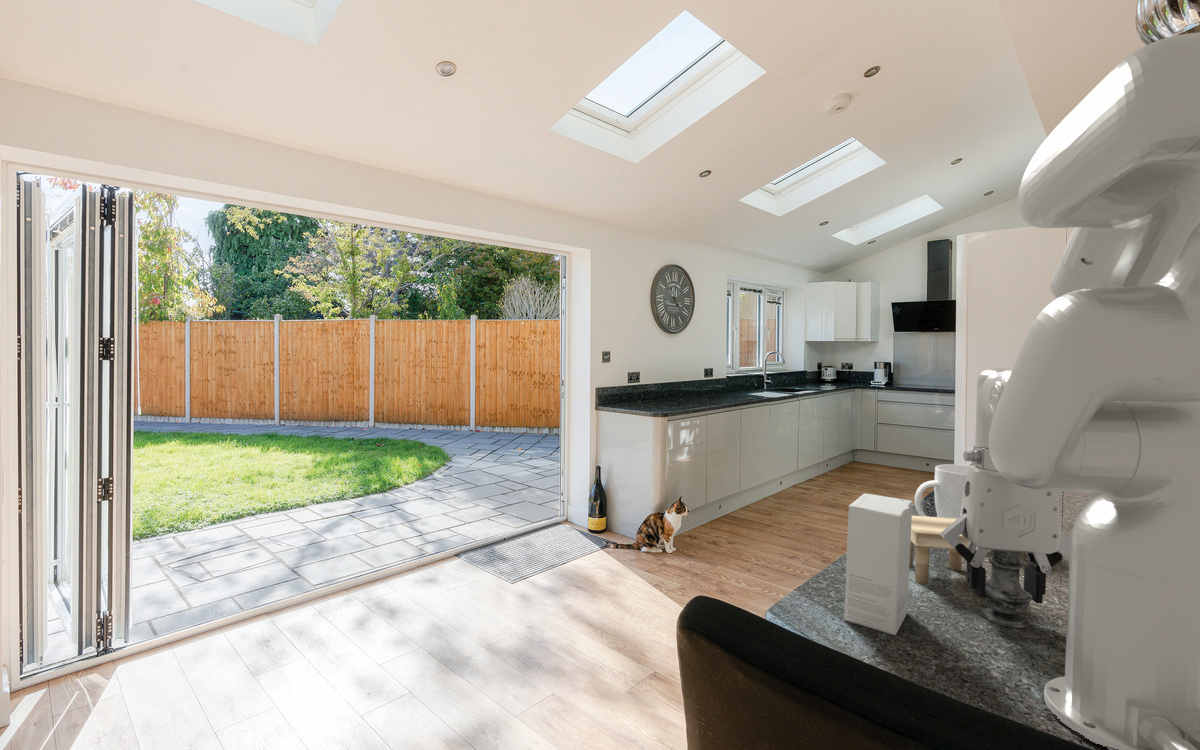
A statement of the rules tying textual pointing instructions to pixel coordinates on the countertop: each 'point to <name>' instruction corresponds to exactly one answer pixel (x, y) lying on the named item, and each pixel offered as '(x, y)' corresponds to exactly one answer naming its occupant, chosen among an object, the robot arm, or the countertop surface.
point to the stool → (931, 544)
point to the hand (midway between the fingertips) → (1004, 595)
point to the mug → (945, 490)
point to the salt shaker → (1005, 591)
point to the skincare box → (878, 562)
